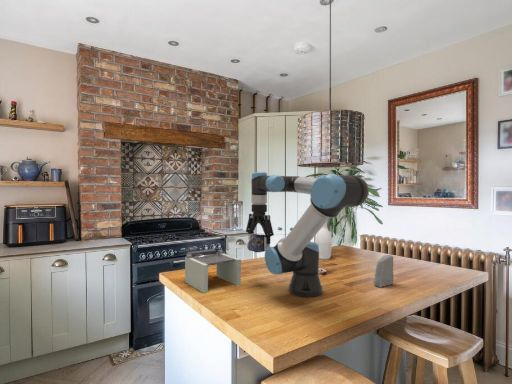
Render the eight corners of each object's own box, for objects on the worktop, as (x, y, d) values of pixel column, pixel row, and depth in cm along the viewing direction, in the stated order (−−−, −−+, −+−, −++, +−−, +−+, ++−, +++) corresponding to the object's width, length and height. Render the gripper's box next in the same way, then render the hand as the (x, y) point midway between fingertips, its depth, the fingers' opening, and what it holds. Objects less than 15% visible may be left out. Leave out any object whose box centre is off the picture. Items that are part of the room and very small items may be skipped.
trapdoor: (234, 270, 152) (234, 256, 152) (206, 275, 143) (206, 260, 143) (213, 261, 169) (213, 249, 169) (186, 266, 160) (186, 252, 160)
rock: (268, 248, 145) (260, 228, 148) (249, 257, 147) (241, 238, 150) (274, 248, 155) (266, 230, 158) (257, 257, 157) (249, 239, 160)
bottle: (333, 257, 214) (334, 220, 214) (328, 260, 205) (329, 221, 204) (318, 255, 220) (318, 219, 220) (312, 258, 211) (312, 220, 210)
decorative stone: (381, 288, 148) (382, 257, 148) (371, 285, 153) (371, 255, 153) (395, 285, 154) (395, 254, 154) (384, 281, 159) (384, 252, 159)
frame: (240, 284, 152) (240, 256, 152) (203, 293, 140) (204, 262, 140) (219, 275, 168) (219, 249, 168) (185, 282, 156) (185, 254, 156)
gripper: (281, 204, 144) (281, 251, 144) (250, 202, 163) (250, 244, 164) (268, 205, 140) (268, 253, 140) (239, 203, 159) (238, 245, 159)
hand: (259, 248), depth 152 cm, fingers closed on rock, 12 cm apart
